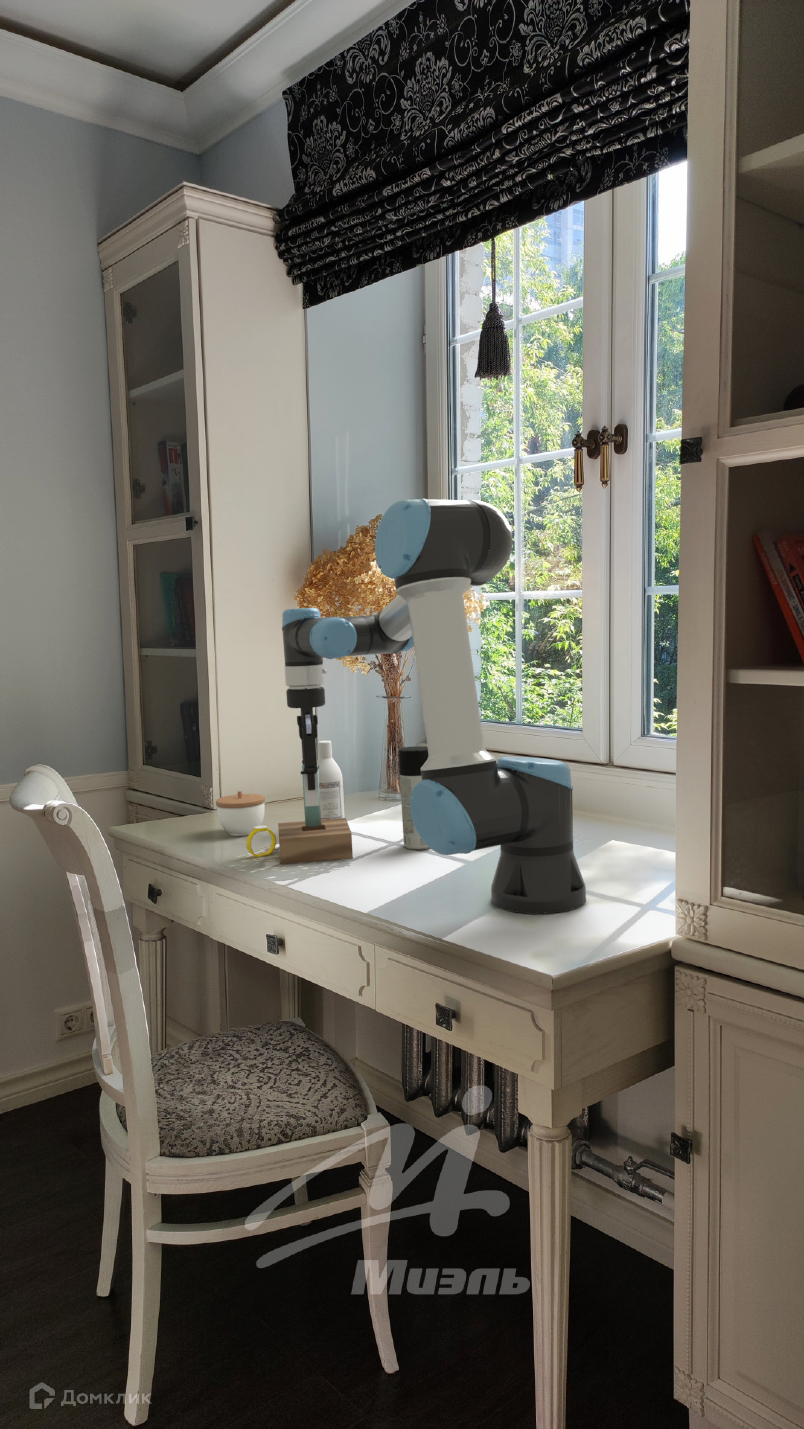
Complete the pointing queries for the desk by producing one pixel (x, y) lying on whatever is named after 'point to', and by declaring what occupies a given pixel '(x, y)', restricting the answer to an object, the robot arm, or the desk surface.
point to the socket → (315, 841)
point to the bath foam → (330, 784)
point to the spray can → (409, 777)
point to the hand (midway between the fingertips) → (311, 803)
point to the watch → (261, 829)
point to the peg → (312, 809)
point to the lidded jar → (240, 812)
